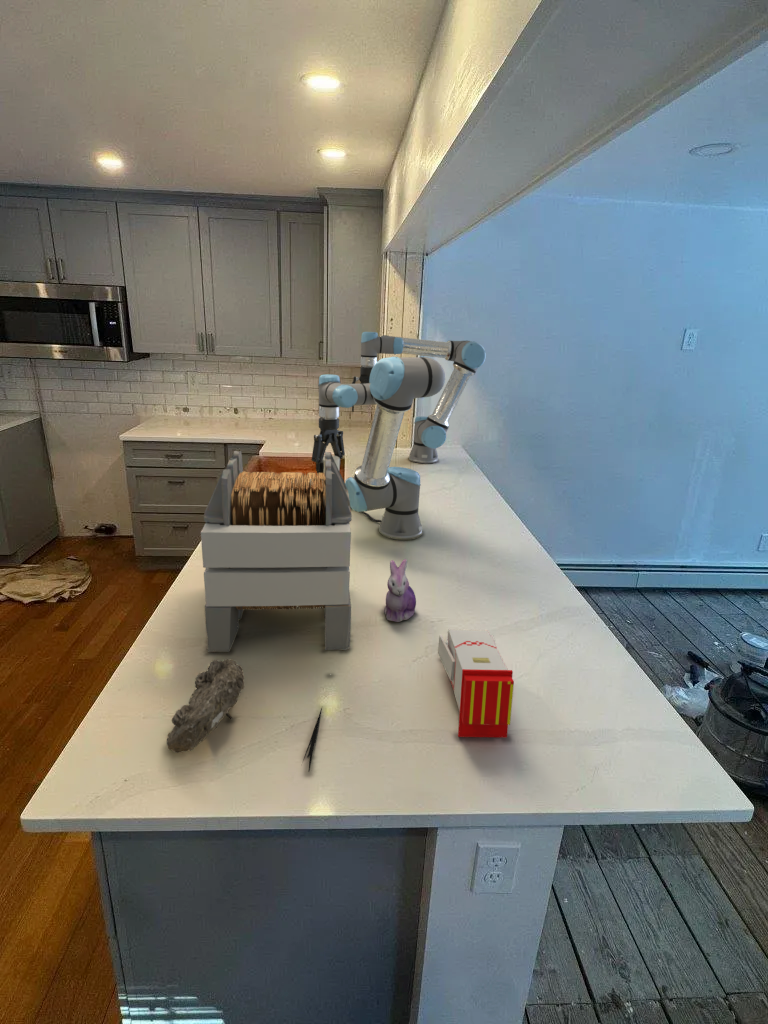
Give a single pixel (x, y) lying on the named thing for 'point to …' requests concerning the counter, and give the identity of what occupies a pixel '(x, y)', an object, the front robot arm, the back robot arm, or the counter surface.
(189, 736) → the fossil
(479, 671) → the toy
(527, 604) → the counter surface
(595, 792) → the counter surface
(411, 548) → the counter surface
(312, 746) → the feather
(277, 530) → the transformer
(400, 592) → the figurine
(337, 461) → the canister
